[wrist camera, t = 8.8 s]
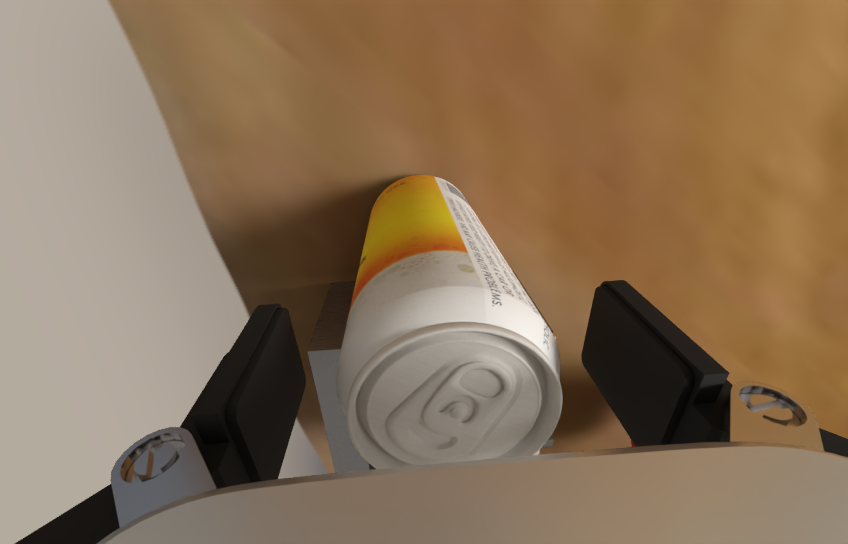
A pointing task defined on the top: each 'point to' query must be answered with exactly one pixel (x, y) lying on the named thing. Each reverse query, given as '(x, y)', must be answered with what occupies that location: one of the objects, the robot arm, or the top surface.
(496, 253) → the beer can
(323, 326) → the gauge frame
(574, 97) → the top surface
